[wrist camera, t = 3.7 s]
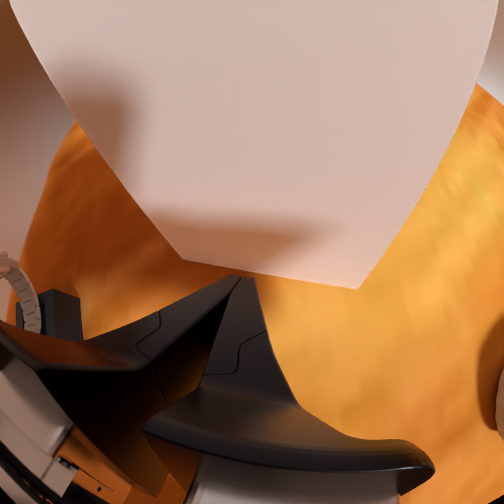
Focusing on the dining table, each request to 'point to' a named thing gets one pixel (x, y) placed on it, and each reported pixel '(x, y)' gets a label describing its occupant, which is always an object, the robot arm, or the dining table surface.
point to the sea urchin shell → (500, 406)
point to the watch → (42, 305)
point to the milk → (268, 117)
